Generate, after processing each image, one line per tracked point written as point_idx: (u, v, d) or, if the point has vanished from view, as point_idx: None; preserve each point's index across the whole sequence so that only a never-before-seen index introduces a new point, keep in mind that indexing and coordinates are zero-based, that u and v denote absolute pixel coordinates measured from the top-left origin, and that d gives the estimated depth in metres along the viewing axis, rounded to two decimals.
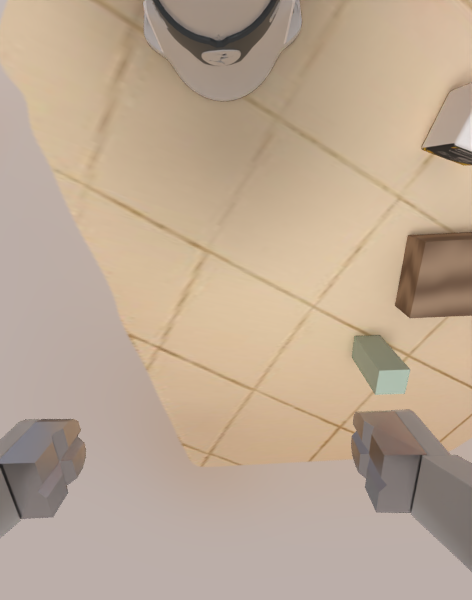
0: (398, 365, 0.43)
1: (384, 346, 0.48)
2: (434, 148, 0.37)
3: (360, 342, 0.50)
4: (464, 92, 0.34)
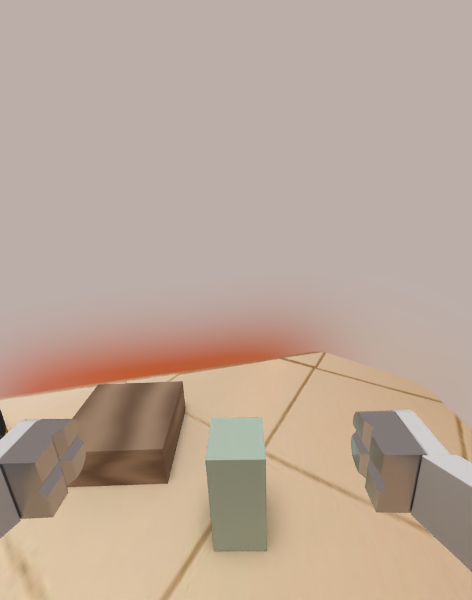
0: None
1: None
2: None
3: (212, 531, 0.24)
4: None
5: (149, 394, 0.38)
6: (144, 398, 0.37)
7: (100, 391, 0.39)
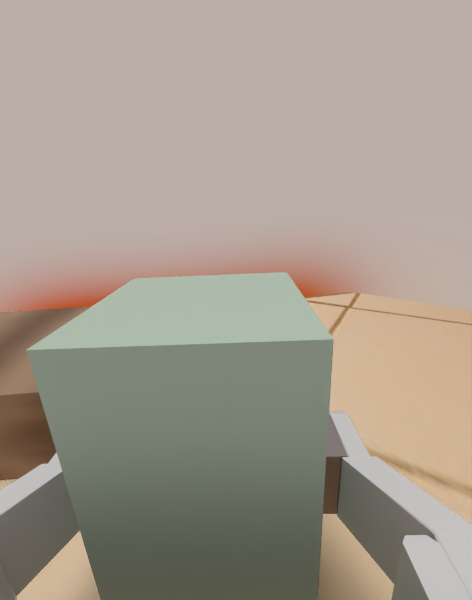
0: None
1: None
2: None
3: None
4: None
5: (66, 319, 0.21)
6: (54, 324, 0.20)
7: None
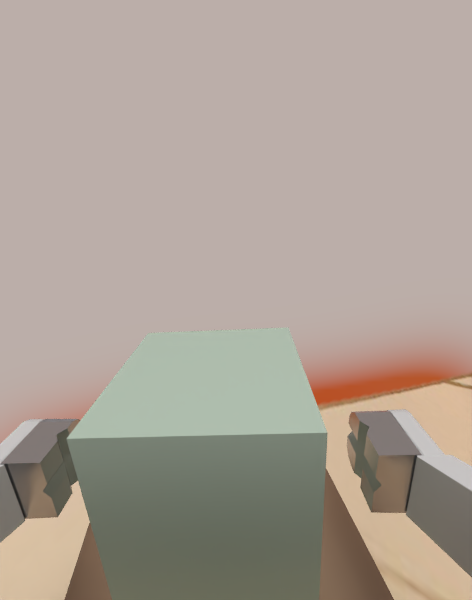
0: None
1: None
2: None
3: None
4: None
5: None
6: None
7: None
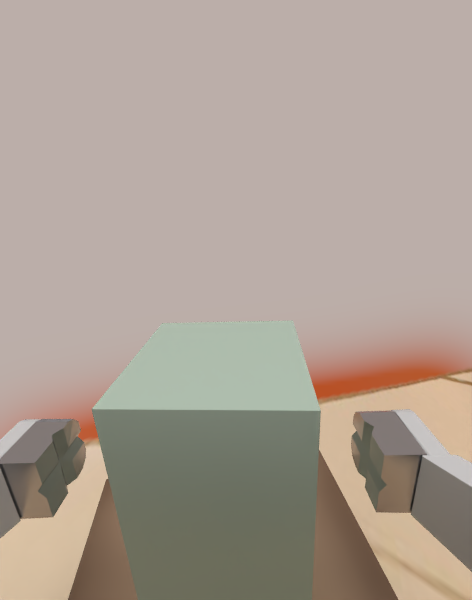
0: None
1: None
2: None
3: None
4: None
5: None
6: None
7: None
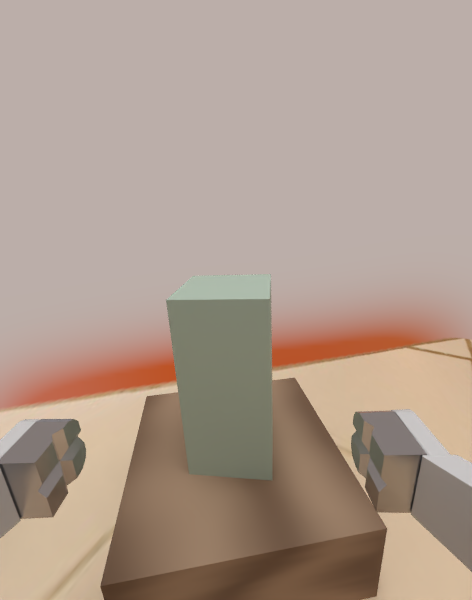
0: None
1: None
2: None
3: (186, 441, 0.15)
4: None
5: None
6: None
7: (156, 407, 0.21)
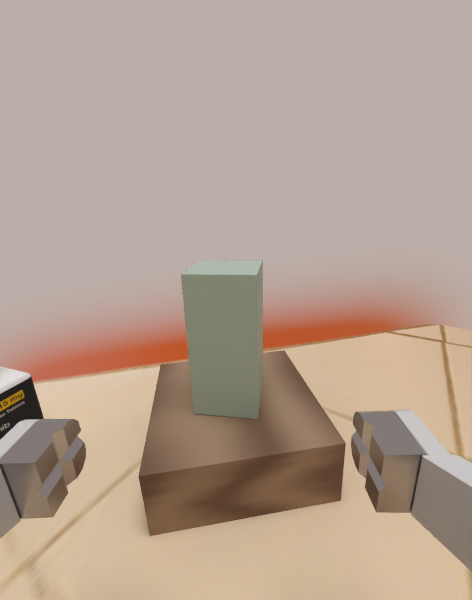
0: None
1: None
2: None
3: (192, 386, 0.20)
4: None
5: None
6: None
7: (169, 372, 0.26)
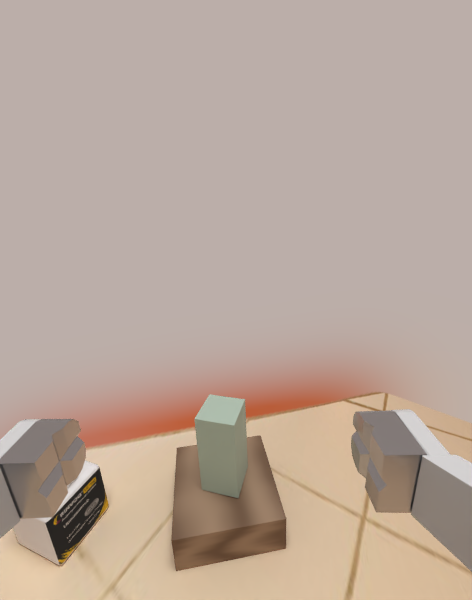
0: None
1: None
2: (58, 547, 0.31)
3: (201, 474, 0.34)
4: None
5: None
6: None
7: (183, 455, 0.39)
